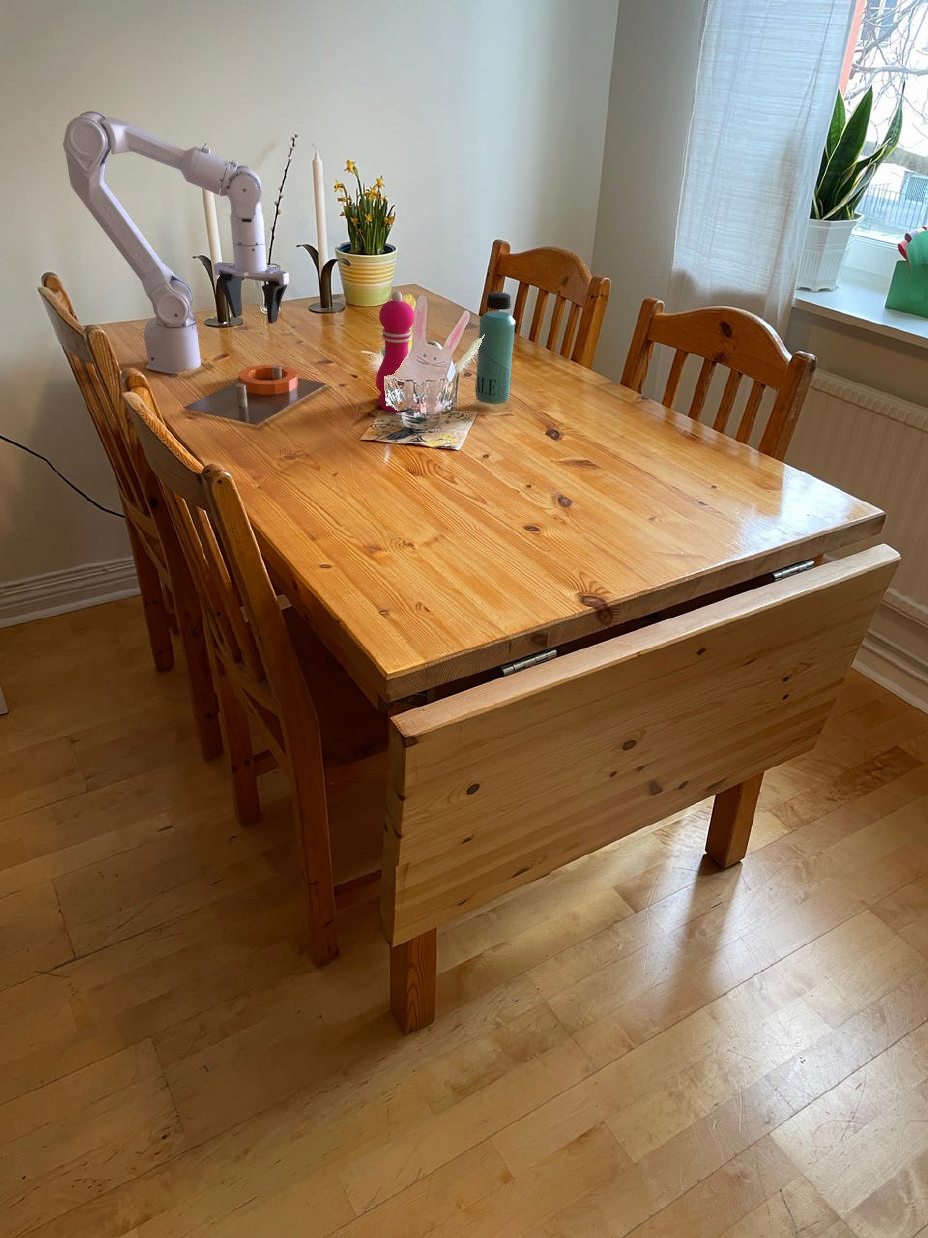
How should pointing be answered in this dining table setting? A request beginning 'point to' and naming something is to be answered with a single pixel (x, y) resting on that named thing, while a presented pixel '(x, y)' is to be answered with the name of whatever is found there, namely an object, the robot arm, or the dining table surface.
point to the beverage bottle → (495, 351)
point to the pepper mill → (394, 340)
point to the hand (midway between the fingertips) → (255, 318)
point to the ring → (268, 387)
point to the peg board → (253, 400)
